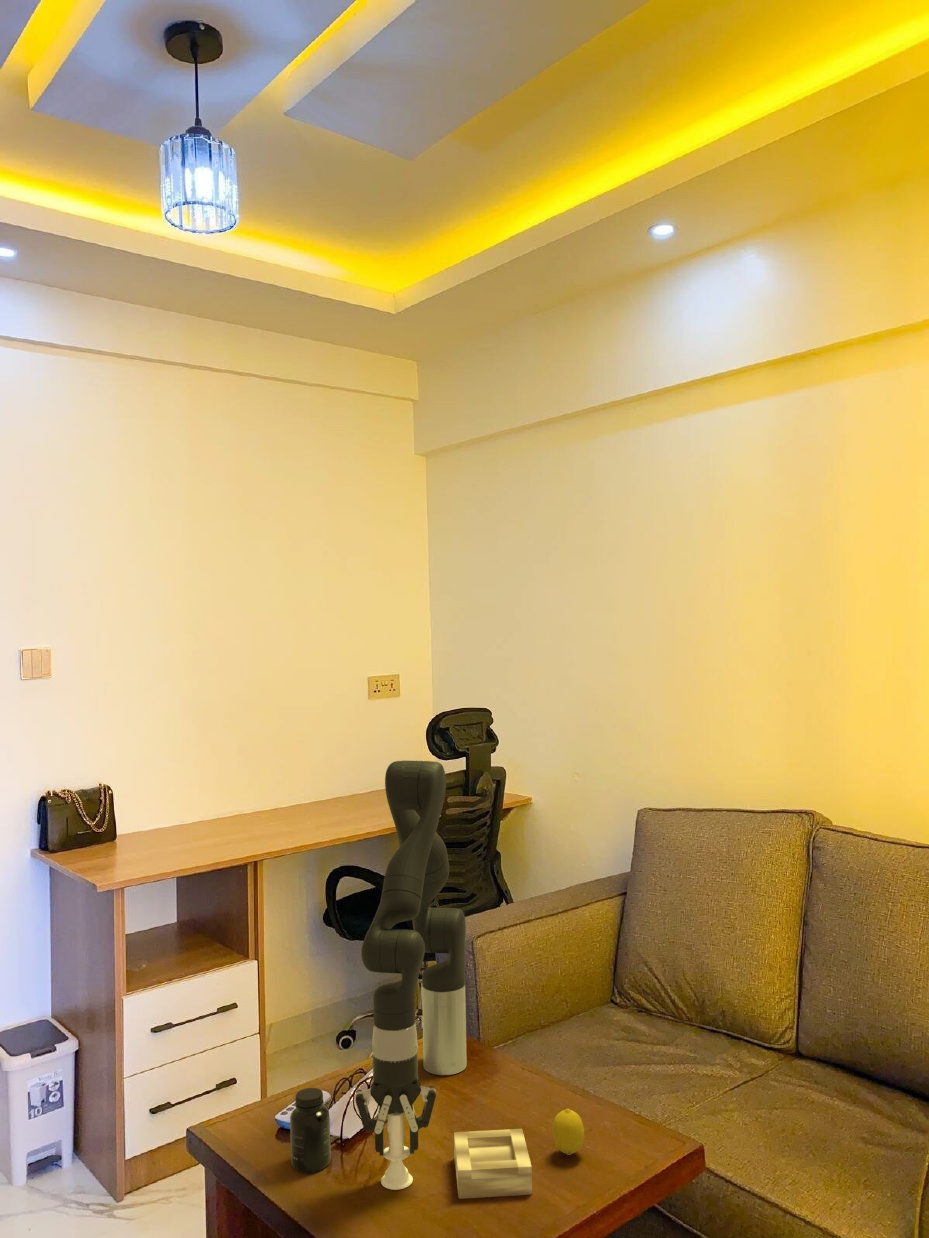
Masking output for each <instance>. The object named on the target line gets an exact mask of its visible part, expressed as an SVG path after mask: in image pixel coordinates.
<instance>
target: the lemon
mask: <svg viewBox="0 0 929 1238" xmlns="http://www.w3.org/2000/svg"><path fill="white" fill-rule="evenodd" d="M552 1139H553V1142H554V1145H555V1147H556V1148H557V1149H558V1150H559V1151H560V1152H562V1154H563V1153H564V1154H565V1155H567V1156H568V1155H570V1156H571V1155H572V1154H575V1153H577V1152H578V1151H579V1150H580V1149H581V1148H582V1146H583V1144H584V1139H585V1127H584V1123H583V1121H582V1118H581V1116H580V1114H578V1113H577V1112H575V1111H574V1110H572V1109H570V1108H566V1109H563V1110H561V1111H560V1112H558V1113H557V1114H556V1116H555V1117H554V1120H553V1122H552Z"/></svg>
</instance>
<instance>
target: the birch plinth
mask: <svg viewBox="0 0 929 1238" xmlns="http://www.w3.org/2000/svg"><path fill="white" fill-rule="evenodd" d="M523 1131H524V1130H523V1128H513V1129H512V1128H510V1129H509V1128H508V1129H491V1130H475V1131H473V1130H472V1131H471V1130H469V1131H457V1132H456V1131H454V1132H453V1149H454V1151H453V1153H454V1166H455V1167H454V1168H455V1178H456V1187H457V1194H458V1195H457V1196H458V1200H459V1199H461V1200H463V1199H477V1198H478V1199H479V1198H493V1197H494V1198H496V1197H497V1198H498V1197H511V1196H512V1197H514V1196H528V1195H529V1196H530V1195H533V1183H532V1182H533V1180H532V1179H533V1173H532V1172H533V1171H532V1170H533V1169H532V1167H533V1166H532V1164H531V1163H532V1162H531V1158H530V1155H529V1150H528V1147H527V1142H526V1139H525V1135H524V1132H523Z"/></svg>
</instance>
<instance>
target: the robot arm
mask: <svg viewBox="0 0 929 1238" xmlns="http://www.w3.org/2000/svg"><path fill="white" fill-rule="evenodd" d="M384 789H385V795H386V800H387V803H388V807H389V811H390V813H391V818H392V820H393V823H394V826H395V831H396V834H397V839H398V843H399V847H398V849H397V850H396V851H395V853H393V855H392V856H391V859H390V860H389V861H388V864H387V867H386V869H385V873H384V877H383V884H382V891H381V897H380V902H379V904H378V906H377V909H376V912H375V914H374V917H373V920H372V921H371V924H370V925H369V928H368V930H367V932H366V934H365V936H364V939H363V941H362V945H361V950H360V951H361V952H360V953H361V954H360V956H361V961H362V963H363V965H364V967H365V969H366V970H367V971H369V972H371V973H379V974H380V973H381V974H397V975H398V974H400V975H401V980H398V981H393V982H389V983H385V984H382V985H380V986H378V987H377V988H376V989H375V990H374V993H373V999H372V1001H373V1004H372V1005H373V1006H372V1007H373V1031H372V1046H371V1050H372V1083H371V1086H370V1088H368V1089H365V1090H364V1089H363V1090H362V1089H357V1090H356V1092H355V1104H356V1107H357V1110H358V1113H359V1117H360V1121H361V1123H362V1127H363V1130H364V1131H366V1132H368V1131H371V1132H373V1134H374V1149H375V1153H379V1157H380V1156H381V1157H383V1156H384V1149H385V1141H384V1140H385V1139H384V1132H385V1131H384V1125H385V1122H386V1119H387V1117H388V1114H391V1113H394V1112H399V1113H403V1114H404V1115H405V1118H406V1121H407V1123H408V1125H409V1149H410V1155H412V1154H413V1155H415V1151H418V1149H419V1130H420V1129H422V1128H424V1129H425V1128H426V1129H427V1128H428V1126H429V1125H430V1121H431V1118H432V1117H431V1116H432V1114H433V1109H434V1105H435V1101H436V1097H437V1090H436V1087H435V1085H430V1086H428V1087H427V1086H423V1085H422V1084H421V1083H420V1080H419V1073H418V1071H419V1069H418V1068H419V1066H418V1065H419V1063H418V1060H419V1059H418V1057H419V1056H418V1047H419V1044H418V1033H417V1032H418V1031H417V1025H416V993H417V985H418V981H419V976H420V971H421V968H422V965H423V962H424V957H425V953H427V954H447V955H449V957H447V959H445V960H443V961H441V962H438V963H435V964H433V965H430V966H428V967H426V968H425V969H424V970H423V971H422V973H421V1000H422V1001H421V1002H422V1005H421V1006H422V1053H423V1054H422V1055H423V1056H422V1059H423V1061H422V1062H423V1069H424V1070H425V1071H426V1072H427V1073H429V1074H432V1075H437V1076H451V1075H455V1074H458V1073H460V1072H463V1071H464V1070H465V1069H466V1068H467V1059H468V1058H467V1011H466V1010H467V1009H466V1006H467V1005H466V1002H467V1001H466V962H465V961H466V960H465V959H466V957H465V953H466V934H467V933H466V931H467V930H466V929H467V927H466V917H465V913H464V911H463V910H462V909H461V908H456V907H430V905H431V903H432V902H433V900H434V899H435V897H436V896H437V895H438V894H439V893H440V892H441V891H442V889H443V888H444V886H445V885H446V883H447V881H448V879H449V876H450V863H449V856H448V851H447V846H446V844H445V842H444V840H443V838H442V837H441V836H440V835H439V834H438V832H437V829H438V825H439V821H440V818H441V813H442V810H443V806H444V803H445V797H446V789H447V777H446V771H445V768H444V766H443V764H442V763H440V762H438V761H434V760H433V761H431V760H430V761H429V760H396V761H393V762H391V763H390V764H389V765H388V767H387V768H386V772H385V776H384ZM417 811H421V814H420V815H419V814H418V812H417ZM411 920H412V928H413V929H394V928H393V927H394V926H395V925H397V924H399V923H403V922H406V921H407V922H408V921H411ZM420 1095H422V1097H421V1098H422V1102H424V1103H423V1107H422V1108H423V1109H422V1112H421V1115H420V1116H418V1117H417V1113H416V1111H415V1108H414V1103H415V1102H416V1100H417V1099H418V1098H419V1096H420ZM371 1097H372V1098H373V1100H374V1101H375V1103H376V1104H377V1106H378V1109H377V1110H378V1111H377V1115H376V1118H375V1119H374V1118H372V1117H371V1114H370V1110H369V1108H368V1105H369V1104H370V1098H371Z"/></svg>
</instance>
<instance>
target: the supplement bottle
mask: <svg viewBox="0 0 929 1238" xmlns="http://www.w3.org/2000/svg"><path fill="white" fill-rule="evenodd" d="M294 1096H295V1097H294V1099H295V1100H294V1101H295V1102H294V1108H293V1110H292V1111H291V1113H290V1116H289V1127H290V1128H289V1129H290V1131H289V1132H290V1159H291V1166H292V1167H293V1168H294V1170H295V1171H296V1172H297V1171H298V1172H300V1173H303V1174H310V1173H316V1172H319V1171H321V1170H323V1169H325V1168H326V1167H327V1166H328V1165H329V1164H330V1162H331V1157H332V1156H331V1155H332V1154H331V1149H332V1148H331V1126H330V1125H331V1124H330V1123H331V1121H330V1119H331V1118H330V1116H331V1115H330V1111H329V1109H328V1107H327V1106H326V1105H325V1104H324V1101H325V1100H324V1092H323V1090H322V1089H320V1088H317V1087H305V1088H303V1089H300V1090H299V1091H297V1092H296V1094H295V1095H294Z"/></svg>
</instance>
